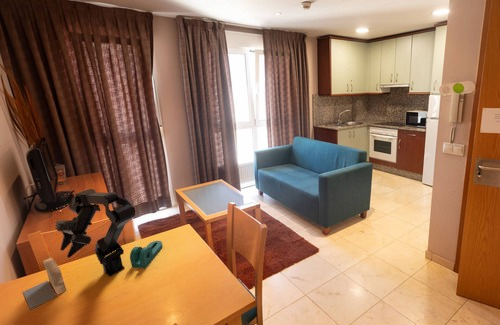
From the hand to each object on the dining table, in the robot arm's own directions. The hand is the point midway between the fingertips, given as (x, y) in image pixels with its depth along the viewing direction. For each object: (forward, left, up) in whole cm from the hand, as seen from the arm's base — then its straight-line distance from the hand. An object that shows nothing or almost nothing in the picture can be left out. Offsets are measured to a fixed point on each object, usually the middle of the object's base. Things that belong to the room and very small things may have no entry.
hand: (64, 253), depth 106 cm
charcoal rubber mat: (+11, 0, -12) cm, 16 cm away
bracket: (-29, +12, -12) cm, 34 cm away
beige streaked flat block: (+5, 0, -12) cm, 13 cm away
